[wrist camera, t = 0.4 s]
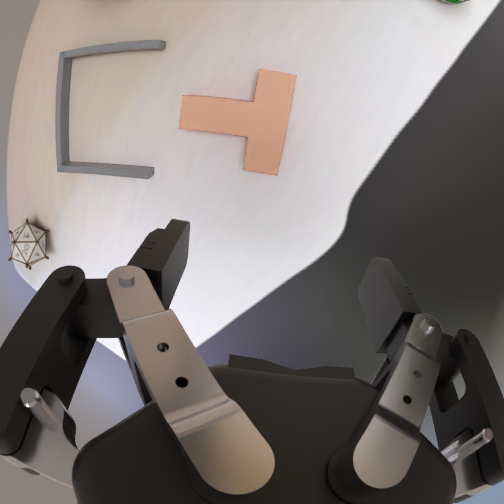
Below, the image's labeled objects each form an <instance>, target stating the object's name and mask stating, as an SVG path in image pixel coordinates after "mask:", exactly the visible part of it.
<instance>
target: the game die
mask: <svg viewBox="0 0 504 504" xmlns="http://www.w3.org/2000/svg"><path fill="white" fill-rule="evenodd" d="M28 222H29V221H28V218H27V219H26V224H24V225H23V226H21V227H20V228H18V229H17V230H15V231H14V232H12V231H11V230H10V231H9V233H10V234H11V257H10V258H9V259H8V261H10V260H11V259H14V260H16V261H19V262H21V263H23V264H26V268H28V266H29V269H30V270H31V265H33V264H35V263H36V262H38V261H40V260H42V259H43V258H46V259H49V257H47V256H46V233H47V232H48V231H49V230H46V231H43V230H41V229H39V228H37V227H35V226H33V225H31V224H30V223H28Z"/></svg>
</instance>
